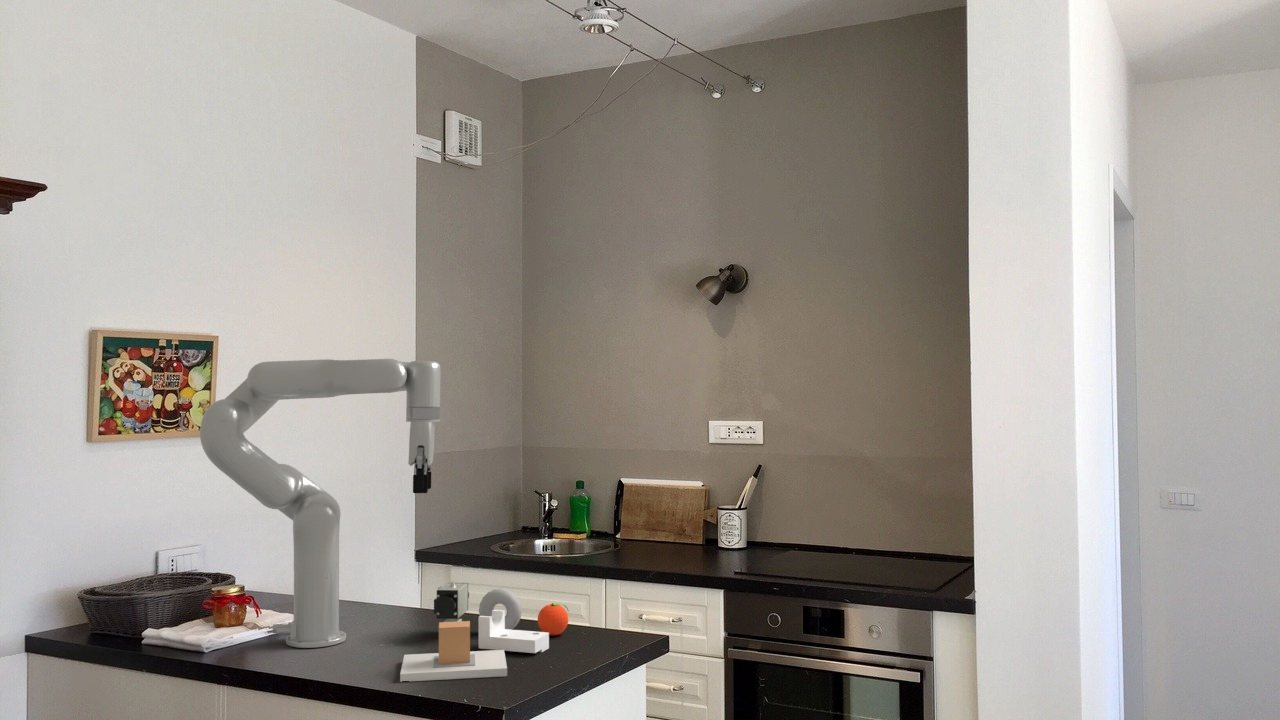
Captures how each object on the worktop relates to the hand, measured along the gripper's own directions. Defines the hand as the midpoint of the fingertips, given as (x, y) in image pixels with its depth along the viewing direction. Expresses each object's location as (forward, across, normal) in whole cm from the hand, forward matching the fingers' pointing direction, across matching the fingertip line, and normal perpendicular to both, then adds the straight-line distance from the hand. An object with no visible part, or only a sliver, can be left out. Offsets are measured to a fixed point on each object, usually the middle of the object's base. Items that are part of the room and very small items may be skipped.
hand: (422, 490), depth 226 cm
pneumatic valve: (+32, +2, +7) cm, 33 cm away
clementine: (+32, +4, +30) cm, 44 cm away
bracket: (+33, +16, +21) cm, 42 cm away
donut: (+32, +1, +18) cm, 37 cm away
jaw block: (+31, +30, +9) cm, 43 cm away
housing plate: (+32, +30, +9) cm, 45 cm away
